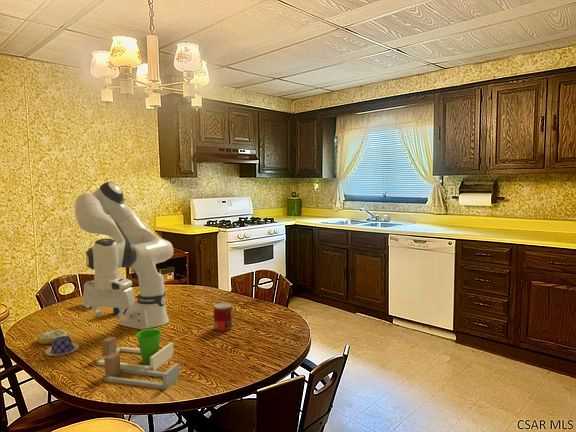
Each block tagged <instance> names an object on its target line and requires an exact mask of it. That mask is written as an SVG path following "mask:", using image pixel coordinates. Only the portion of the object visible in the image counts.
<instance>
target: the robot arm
mask: <svg viewBox="0 0 576 432" xmlns="http://www.w3.org/2000/svg"><path fill="white" fill-rule="evenodd" d="M74 205H75V206H74V208H75V210H74V211H75V218H76V221H77V224H78V226H79V227H80V229H82V230H83V231H84V232H87V233H90V234H96V235H104V236H107V237H110V238H100V239H98V240H95V241H94V242H93V246H91V247H89V248H88V249H87V250H86V251H85V257H86V260H85V261H86V263H85V264H86V267H87V268H89V269H91V270H93V271H94V273H93V277H94V278H93V281H92V280H88V281H87V280H86V281H85V283H84V284H83V292H82V301H83V303H84V305H89V306H92V307H91V309H92V311H93V312H94V317H95V318H100V317H102V315H103V314H102V311H101V310H100V308H99V307H103V308H105V307H106V308H112V309H113V308H119V311H120V312H119V314H117V315H116V319H117V320H121V321H120V322H119V325H120V326H123V327H127V328H132V329H138V330H146V329H152V328H157V327H161V326H164V325H166V324H167V323H169V322H170V319H169V316H168V311H167V306H166V291H165V278H164V275H163V274H162V273H160V272H158V270H157V266H156V265H157V264H160V263H164V262H166V261H167V260H170V259H171V258H172V257H173V255H174V252H175V250H174V247H173V244H172V243H171V242H170V241H169V240H167V239H165V238H162V237H160V236H158V235H157V234H155V233H154V232H152V231H151V230H150V229H149V228H148V227H147V226H146V224H144V222H143V221H142V220H141V218H139V216H138V215H137V213H136V212H135V211H134V210H133V209H132V208H131V207H130V206H129V205H128V204H126V203H125V198H124V193H123V190H122V188H121V187H120V186H119V185H117V184H116V183H114V182H112V181H106V182H104V183H102V184H101V185H99V187H98V188H97V189H96V190H95V191H94V192H93V193H89V192H88V193H87V192H86V193H82V194H80V195H79V196H78V197H77V198H76V200H75V203H74ZM119 268H123V269H125V268H132V269H133V270H134V271H135V273H136V276H137V279H138V285H139V294H138V295H136V296H135V295H134V294H135V293H134V289H133V288H132V286H133V281H132V280H130V279H128V278H126V277H124V276H122V275H121V273H120V269H119ZM135 300H136V302H135ZM125 308H126V309H128V310H127V311H126V313H125V316H124V314H123V313H124V311H125Z"/></svg>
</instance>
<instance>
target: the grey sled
mask: <svg viewBox="0 0 576 432" xmlns="http://www.w3.org/2000/svg"><path fill="white" fill-rule="evenodd" d="M120 354H121V353H117V354H116V353H112V354H110V355H108V356H107V357H105V358H104V361H105V365H104V374H105V376H103V382H110V383H117V384H125V385H131V386H132V385H133V386H140V387H146V388H155V389H162V390H168V389H169V388H170V387H171V386H172V385H173V384H174V383H176V382H177V380H178V379H180V376H181V375H180V363H177V362H176V363H174V364H173V365H172V366H170V367H169V368H168V369H167V370H166V371H165V372H164V371H157V370H155V371H150V370H142V369H134V368H126V367H120V362H121V357H120V356H121V355H120ZM121 373H127V374H134V375H143V376H152V377H159V378H162V382H158V381H149V380H140V379H133V378H127V377H119V375H120V374H121Z"/></svg>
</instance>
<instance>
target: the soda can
mask: <svg viewBox="0 0 576 432" xmlns="http://www.w3.org/2000/svg"><path fill="white" fill-rule="evenodd" d="M128 309H129V308H128ZM128 309H126V308H125V311H124V313H123V315H124V314H126V311H127V310H128ZM112 311H113V314H115V315H116V314H119V312H120V311H119V308H113V307H112Z"/></svg>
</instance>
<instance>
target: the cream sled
mask: <svg viewBox="0 0 576 432" xmlns="http://www.w3.org/2000/svg"><path fill="white" fill-rule="evenodd" d="M101 346H102V347H101V348H102V357H100V358H99V359H97V360H95V365H98V366H105V361H104V358H105V357H107V356H108V355H110V354H112V353H116V354H119V353H121V352H126V353H135V354H141V352H140V348H137V347H136V348H135V347H127V346H118V347H117V338H116V337H115V336H114V337H113V336H108V337H106V338H104V339H102V340H101ZM173 356H174V342H169V343H168V344H166V345H165V346H164V347H161V349H159V351H158V352H157V353H155V354H154V355H152V356H151V357H150V365H146V364H137V363H127V362H121V361H120V367H126V368H134V369H142V370H150V371H157V369H158V368H160V367H161V366H162V365H163V364H164V363H166V362H167V361H169V360H170V359H171V358H172V357H173Z"/></svg>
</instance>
